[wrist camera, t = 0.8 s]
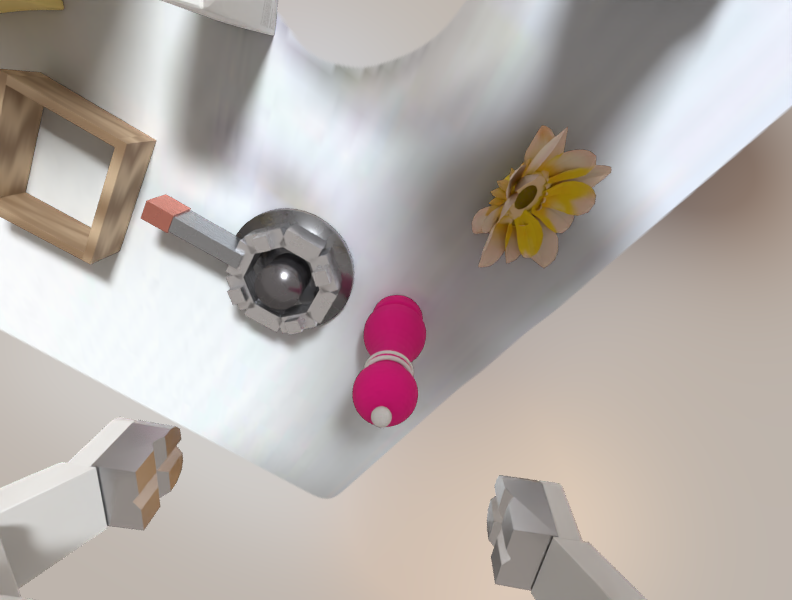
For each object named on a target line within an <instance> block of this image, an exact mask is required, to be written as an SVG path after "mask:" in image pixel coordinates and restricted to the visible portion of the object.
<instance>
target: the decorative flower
mask: <svg viewBox="0 0 792 600" xmlns="http://www.w3.org/2000/svg"><path fill="white" fill-rule="evenodd" d="M567 132H568V127H567V128H565V129H564V130H563V131H562V132H561V133H559V134H558V135H557V136H556V137H555V135H554V133H553V132H552V130H551V129H550V128H548V127H547V126H541V127H540V129H539V130H538V132H537V133H536V135H535V137H534V138H533V140H532V142H531V143H530V145H529V147H528V149H527V150H526V152H525V157H524V161H525V164H524V162H523V163H522V164H521V165H520V167H519V168H518V169H517V170H514V169H513V168H511V171H510V174H509V175H508V176H507V177H506V178H505V179H504V180H498V181H497V183H498V186H499V188H497V189H495V190H493V191H491V193H492V195H493V196H494V197H495V198H494V199H493V200H491V201H490V202H489V204H490V205H491V206H488V207H485V208H483V209H481V210H479V211H478V212H477V213H476V215H475V216H474V218H473V220H472V231H473V233H474V234H479V233H488V232H490V234H489V236H488V239H487V241H486V243H485V246H484V248H483V252H482V255H481V259H480V262H479V266H478V267H481V268H482V267H488V266H491V265H492V264H494V263H495V262H497V261H498V259H499V258H500V257H501V255H502V254H503V253H504V251H505V257H506V263H510V262H512V261H515V260H516V259H517V258H518V257H519V256H520V255H521V254H522V256H523V258H532V259H533V260H534V261H535V262H536V263H537V264H538V265H540V266H541V267H543V268H546V267H547V266H548V265H550V264H551V263H552V262H553V261H554V260H555V258H556V255H557V252H558V237H557V234H556V233H563V232H564V231H566V230H567V229H568V228H569V227H570V225H571V223H572V222H573V220H574V215H576V216H578V215H582V214H585V213H588V212H589V211H590V209H591V208H592V207H593V205H594V204H595V198H596V195H595V192H594V190H593V189H592V188H593V187H594V186H595V185H596V184H598V183H599V182H600V181H602V180H603V179H604V178H605V177H606V176H607V175H608V174H610V173H611V167H609V166H605V165H596V155H594V154H593V153H592V152H591V151H587V150H571V151H567V152H564V148H565V142H566V137H567Z"/></svg>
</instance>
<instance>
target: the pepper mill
mask: <svg viewBox="0 0 792 600" xmlns="http://www.w3.org/2000/svg"><path fill="white" fill-rule="evenodd" d="M425 339H426V328H425V325H424V322H423V317H422V312H421V310H420V308H419V306H418V305H417V304H416V303H415V302H414V301H413V300H412V299H410V298H408V297H405V296H401V295H393V296H388V297H386V298H384V299H382V300H381V301H380V302H379V303H378V304H377V305H376V307H375V308H374V311H373V313H372V314H371V315H370V316H369V318H368V319H367V321H366V324H365V328H364V342H365V346H366V349H367V351H368V353H369V354H370V357H369V358H368V360H367V361H366V362H365V365H364V369H363V370H362V371H361V372H360V374H359V375H358V376H357V378H356V380H355V382H354V386H353V402H354V406H355V408H356V410H357V412H358V413H359V414H360V416H361V417H362V418H363V419H365V420H366V421H367V422H369V423H371V424H373V425H375V426H377V427H379V428H383V427H390V426H394V425H397V424H400V423H401V422H403V421H405V420H406V419H407V418H408V417H409V416H410V415H411V414H412V412H413V411H414V409H415V406H416V403H417V398H418V388H417V384H416V381H415V379H414V370H413V366H412V364H411V362H412V361H413V360H414V359H416V358H417V357H418V355H419V354H420V352H421V351H422V349H423V347H424V344H425Z"/></svg>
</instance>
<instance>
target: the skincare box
mask: <svg viewBox="0 0 792 600" xmlns="http://www.w3.org/2000/svg"><path fill="white" fill-rule="evenodd" d="M161 1H164V2H167V3H170V4H173V5H176V6H178V7H181V8H184V9H187V10H189V11H192V12H195V13H198V14H200V15H203V16H206V17H209V18H211V19H214V20H217V21H220V22H223V23H227V24H230V25H233V26H237V27H241V28H244V29H248V30H252V31H256V32H260V33H264V34H268V35H272V36H274V34H275V25H276V16H277V7H278V0H161Z"/></svg>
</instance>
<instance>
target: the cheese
mask: <svg viewBox="0 0 792 600" xmlns="http://www.w3.org/2000/svg"><path fill="white" fill-rule="evenodd" d="M63 9H64V5H63V1H62V0H0V13H6V12H15V11H26V10H63Z"/></svg>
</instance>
